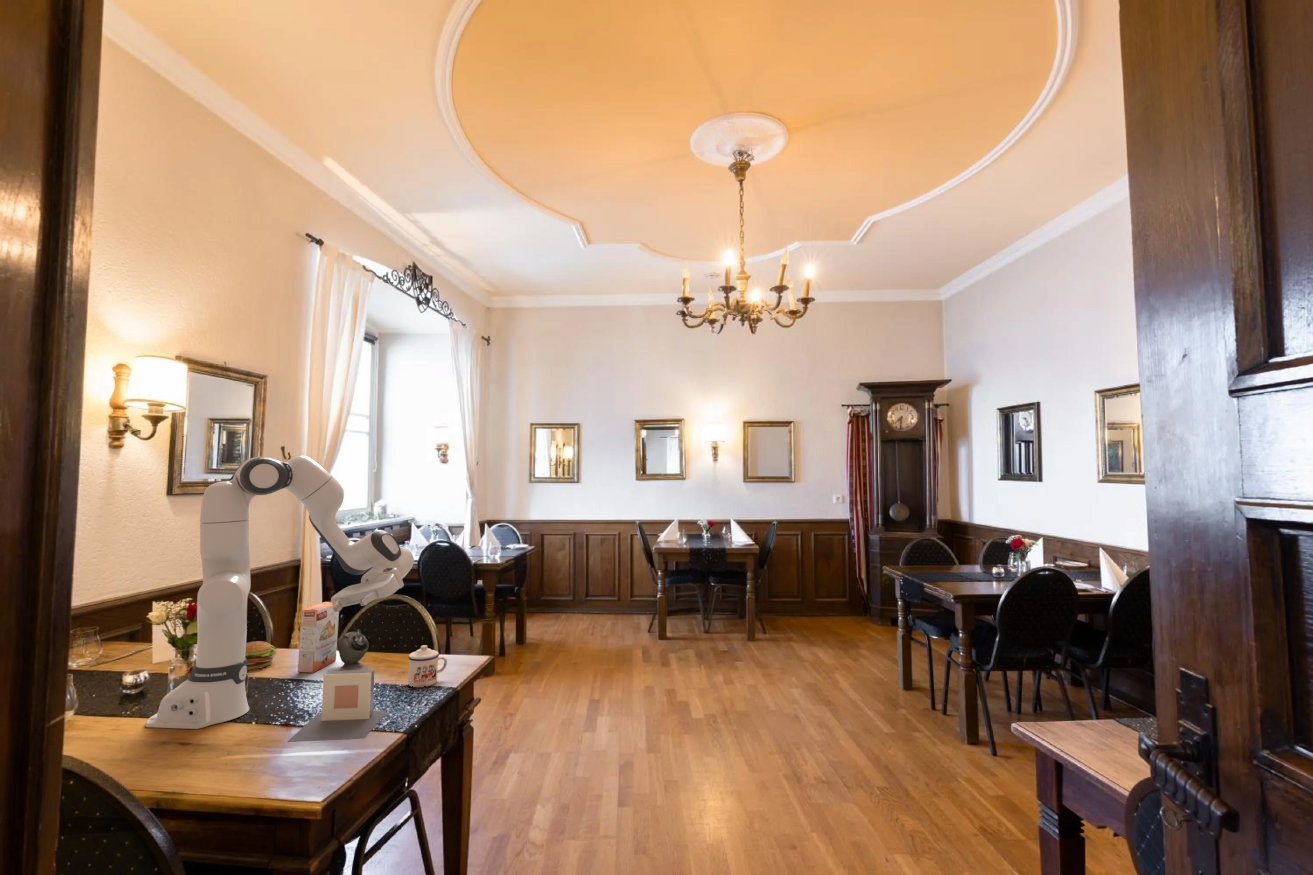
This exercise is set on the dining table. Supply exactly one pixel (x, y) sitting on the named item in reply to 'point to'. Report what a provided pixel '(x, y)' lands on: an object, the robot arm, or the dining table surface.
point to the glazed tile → (348, 695)
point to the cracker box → (318, 637)
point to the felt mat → (336, 728)
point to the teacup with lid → (424, 667)
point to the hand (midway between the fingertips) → (348, 606)
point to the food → (258, 654)
